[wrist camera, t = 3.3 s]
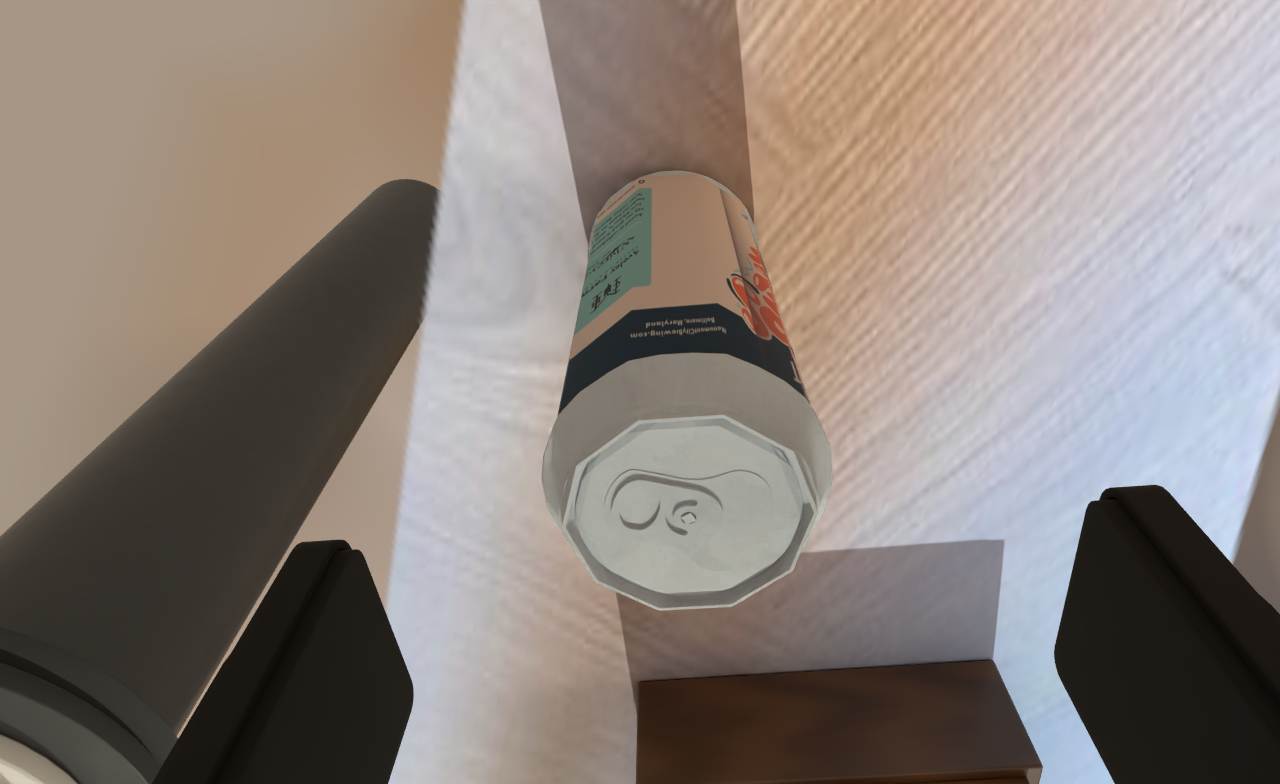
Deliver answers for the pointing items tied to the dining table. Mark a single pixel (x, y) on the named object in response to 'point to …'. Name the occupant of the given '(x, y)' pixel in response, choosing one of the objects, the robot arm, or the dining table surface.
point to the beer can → (683, 406)
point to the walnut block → (836, 728)
